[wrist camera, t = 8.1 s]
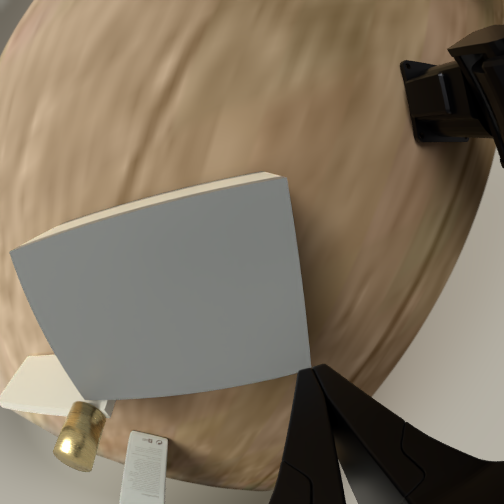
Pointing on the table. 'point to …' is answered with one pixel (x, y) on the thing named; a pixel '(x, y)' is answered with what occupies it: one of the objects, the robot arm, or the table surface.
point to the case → (173, 291)
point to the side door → (59, 408)
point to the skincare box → (144, 470)
